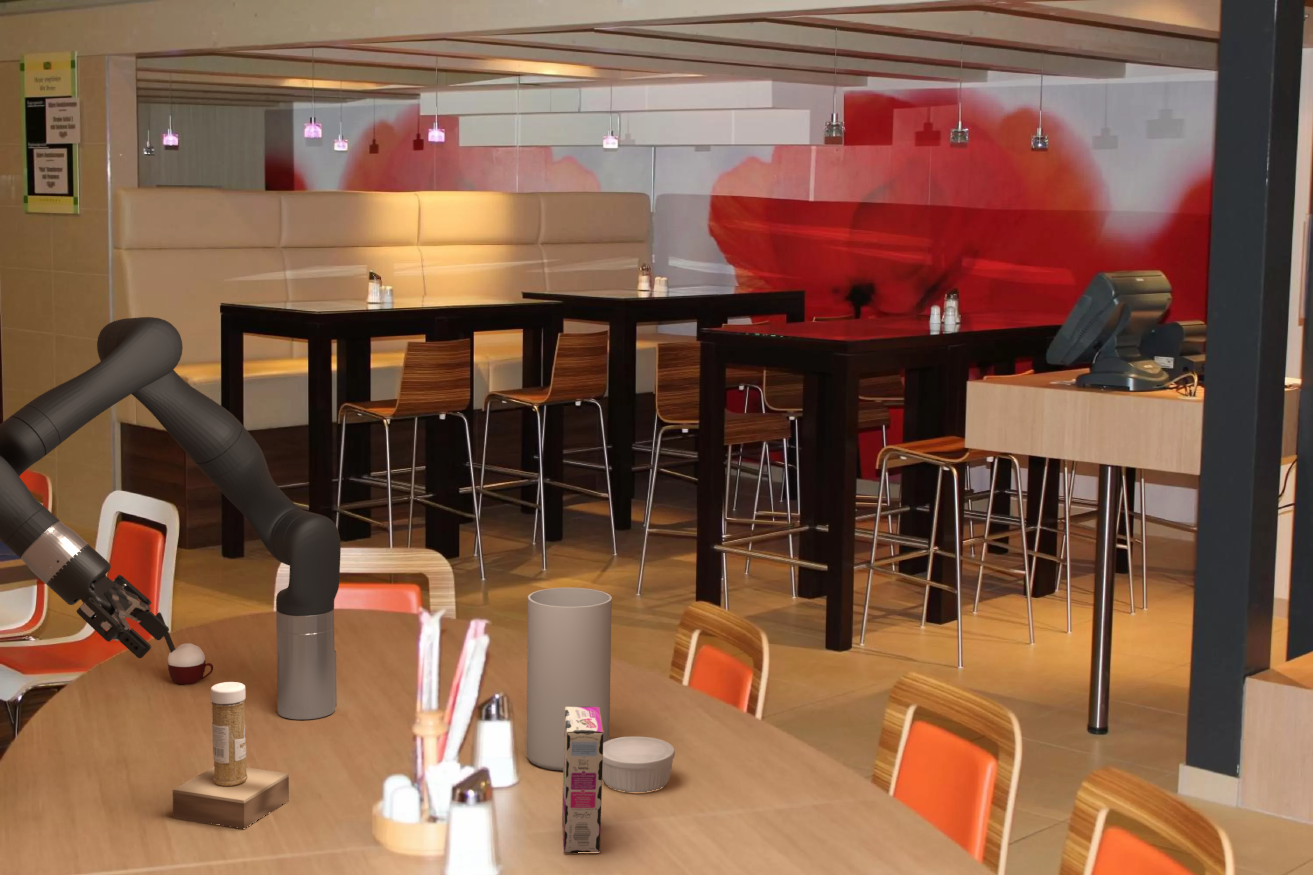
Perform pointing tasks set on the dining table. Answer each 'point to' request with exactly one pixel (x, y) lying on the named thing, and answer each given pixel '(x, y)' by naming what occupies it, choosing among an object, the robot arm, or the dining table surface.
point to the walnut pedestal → (231, 798)
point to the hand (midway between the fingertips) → (155, 644)
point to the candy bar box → (582, 779)
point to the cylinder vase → (565, 666)
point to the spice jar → (229, 733)
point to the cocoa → (185, 661)
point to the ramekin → (637, 763)
